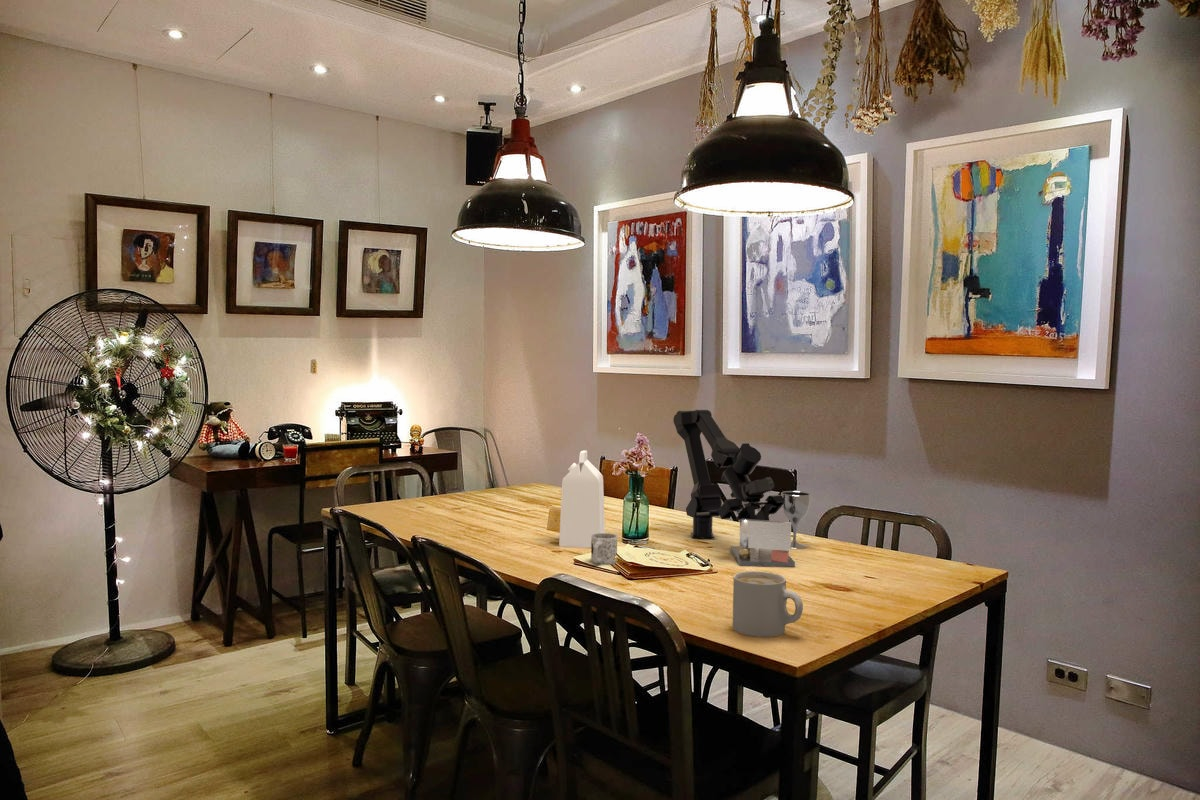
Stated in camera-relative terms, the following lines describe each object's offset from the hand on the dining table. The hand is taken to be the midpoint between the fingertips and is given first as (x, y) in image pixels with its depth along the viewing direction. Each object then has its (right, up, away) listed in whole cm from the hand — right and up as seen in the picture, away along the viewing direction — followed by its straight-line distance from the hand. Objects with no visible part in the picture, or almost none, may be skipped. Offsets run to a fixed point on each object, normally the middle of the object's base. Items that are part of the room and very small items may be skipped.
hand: (765, 533), depth 214 cm
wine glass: (+12, -7, +18) cm, 22 cm away
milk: (-48, -6, +18) cm, 52 cm away
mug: (-43, -7, -5) cm, 44 cm away
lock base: (-1, -7, +2) cm, 7 cm away
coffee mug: (-11, -10, -57) cm, 59 cm away
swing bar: (-1, -3, -4) cm, 5 cm away
